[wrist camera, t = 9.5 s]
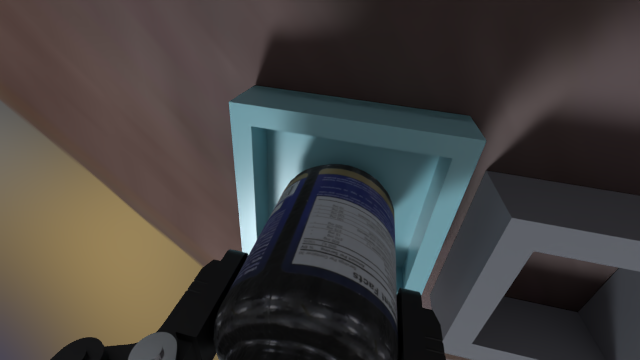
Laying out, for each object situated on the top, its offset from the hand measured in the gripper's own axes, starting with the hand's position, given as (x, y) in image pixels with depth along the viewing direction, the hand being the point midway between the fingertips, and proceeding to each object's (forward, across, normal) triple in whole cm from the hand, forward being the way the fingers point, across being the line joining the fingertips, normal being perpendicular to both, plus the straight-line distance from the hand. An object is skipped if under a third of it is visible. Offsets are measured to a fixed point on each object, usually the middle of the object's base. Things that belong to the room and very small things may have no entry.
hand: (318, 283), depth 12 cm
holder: (+7, -13, +3) cm, 15 cm away
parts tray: (+7, 0, 0) cm, 7 cm away
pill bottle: (+5, 0, 0) cm, 5 cm away
